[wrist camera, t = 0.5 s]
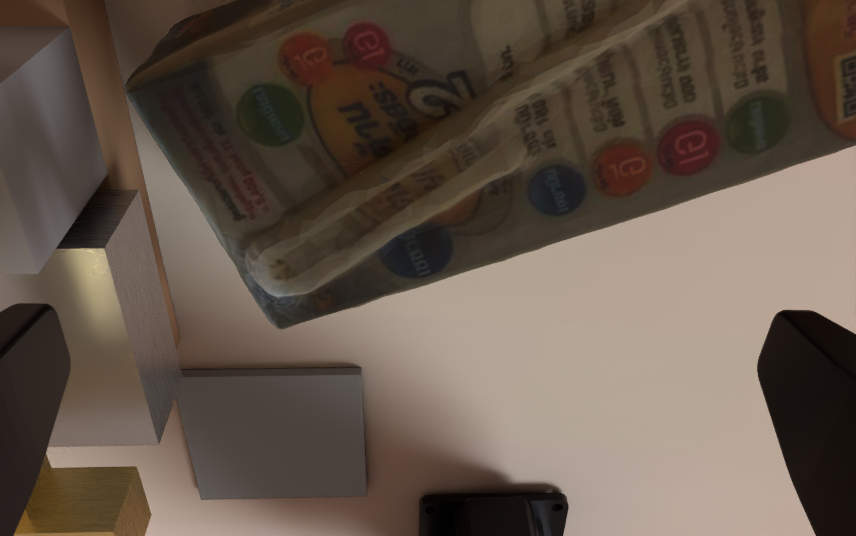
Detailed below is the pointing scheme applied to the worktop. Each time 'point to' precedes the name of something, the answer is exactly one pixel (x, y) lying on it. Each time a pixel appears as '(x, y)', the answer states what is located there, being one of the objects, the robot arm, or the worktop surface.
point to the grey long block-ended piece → (476, 126)
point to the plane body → (61, 129)
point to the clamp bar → (86, 503)
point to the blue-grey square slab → (275, 432)
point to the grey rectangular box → (107, 325)
